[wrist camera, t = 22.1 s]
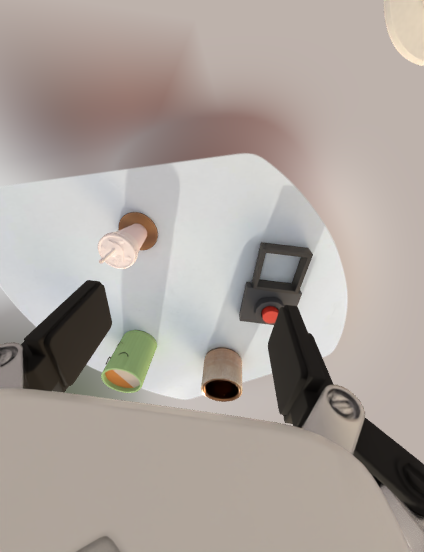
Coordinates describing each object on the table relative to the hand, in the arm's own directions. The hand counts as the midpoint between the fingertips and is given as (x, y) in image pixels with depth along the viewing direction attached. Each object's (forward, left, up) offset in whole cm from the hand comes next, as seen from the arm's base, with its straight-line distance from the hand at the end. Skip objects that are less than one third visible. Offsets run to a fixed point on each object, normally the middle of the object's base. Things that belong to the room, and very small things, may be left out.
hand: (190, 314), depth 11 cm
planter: (+46, +6, -32) cm, 57 cm away
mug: (+44, -20, -32) cm, 58 cm away
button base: (+23, +14, -32) cm, 42 cm away
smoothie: (+9, -16, -32) cm, 37 cm away
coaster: (+9, -16, -32) cm, 37 cm away
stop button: (+23, +14, -29) cm, 39 cm away
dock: (+13, +14, -32) cm, 38 cm away
